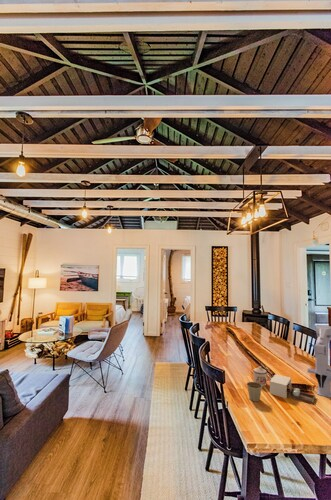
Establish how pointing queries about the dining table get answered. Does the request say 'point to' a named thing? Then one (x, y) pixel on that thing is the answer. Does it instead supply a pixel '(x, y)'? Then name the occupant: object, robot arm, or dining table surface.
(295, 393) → the grey rounded lump
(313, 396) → the tray
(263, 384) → the teacup with lid
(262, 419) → the dining table surface
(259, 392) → the flower pot
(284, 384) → the grey rectangular block
